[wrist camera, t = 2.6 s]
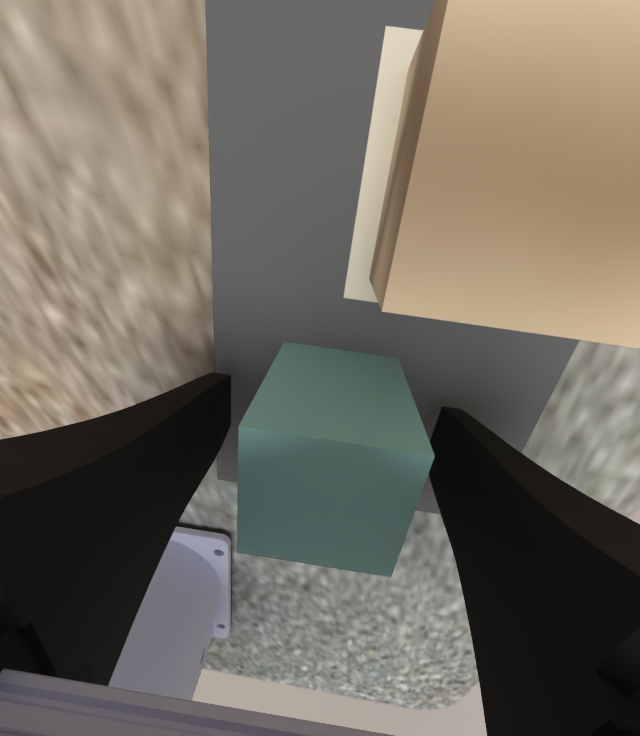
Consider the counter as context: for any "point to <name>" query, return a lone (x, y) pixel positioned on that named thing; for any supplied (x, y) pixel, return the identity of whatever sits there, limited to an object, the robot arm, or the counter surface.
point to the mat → (334, 215)
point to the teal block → (331, 461)
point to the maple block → (518, 171)
